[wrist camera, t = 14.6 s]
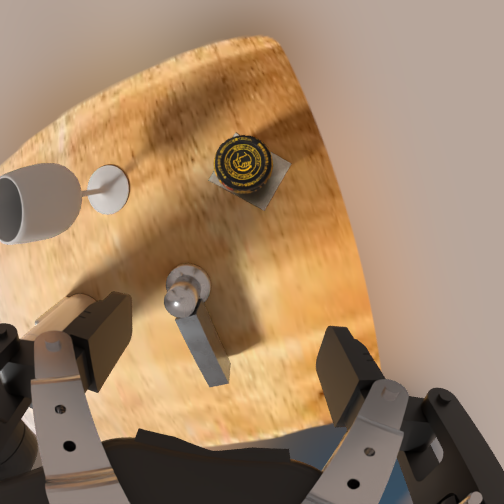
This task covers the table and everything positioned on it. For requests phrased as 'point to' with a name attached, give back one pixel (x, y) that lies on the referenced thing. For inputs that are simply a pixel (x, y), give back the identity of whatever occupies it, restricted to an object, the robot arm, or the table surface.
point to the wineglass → (53, 200)
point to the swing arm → (198, 329)
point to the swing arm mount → (192, 271)
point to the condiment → (248, 169)
